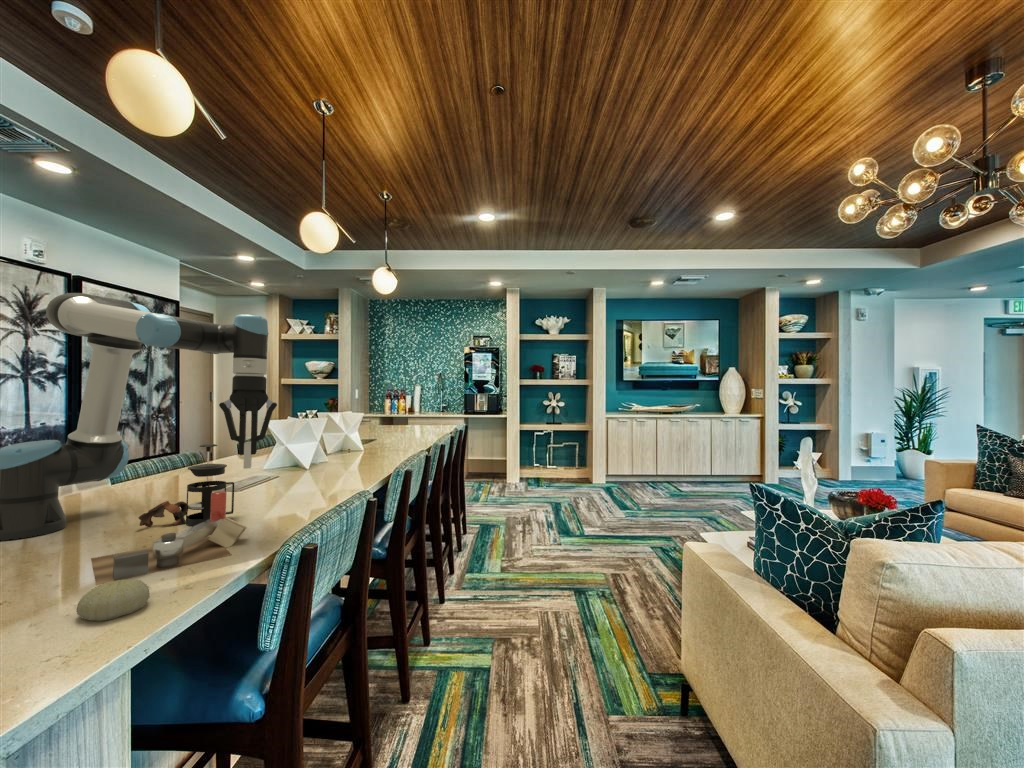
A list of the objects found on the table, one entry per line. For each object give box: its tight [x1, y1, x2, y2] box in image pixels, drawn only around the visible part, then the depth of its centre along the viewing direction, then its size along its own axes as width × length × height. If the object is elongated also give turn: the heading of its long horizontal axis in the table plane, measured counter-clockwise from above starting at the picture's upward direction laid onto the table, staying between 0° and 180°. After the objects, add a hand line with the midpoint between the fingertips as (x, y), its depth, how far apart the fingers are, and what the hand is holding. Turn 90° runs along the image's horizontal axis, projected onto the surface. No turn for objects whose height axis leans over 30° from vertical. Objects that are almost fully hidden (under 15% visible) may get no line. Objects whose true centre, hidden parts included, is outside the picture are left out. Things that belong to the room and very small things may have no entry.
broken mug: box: [138, 500, 187, 528], centre depth 121 cm, size 12×10×8 cm
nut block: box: [208, 517, 247, 548], centre depth 105 cm, size 5×5×5 cm
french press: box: [185, 443, 235, 528], centre depth 121 cm, size 12×9×23 cm
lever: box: [152, 490, 227, 559], centre depth 99 cm, size 21×5×9 cm, turn 4°
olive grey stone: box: [75, 578, 151, 622], centre depth 75 cm, size 9×8×8 cm
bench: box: [90, 532, 233, 586], centre depth 95 cm, size 18×22×8 cm
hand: (247, 467), depth 111 cm, fingers closed
